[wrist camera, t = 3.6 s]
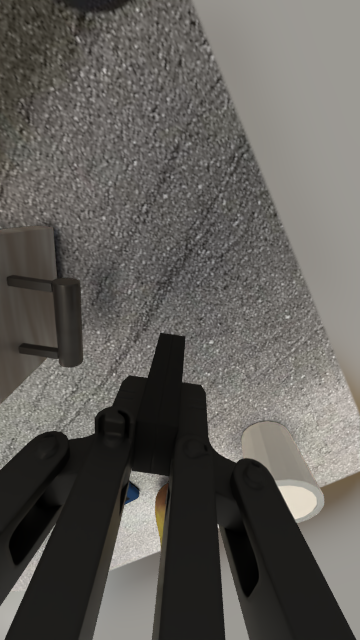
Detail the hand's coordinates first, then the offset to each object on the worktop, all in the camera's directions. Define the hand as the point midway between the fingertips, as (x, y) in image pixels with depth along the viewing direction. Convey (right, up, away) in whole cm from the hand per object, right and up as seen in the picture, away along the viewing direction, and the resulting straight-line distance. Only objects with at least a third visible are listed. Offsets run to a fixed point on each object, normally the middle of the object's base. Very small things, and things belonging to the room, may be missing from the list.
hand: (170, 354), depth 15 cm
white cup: (+11, -12, +14) cm, 21 cm away
